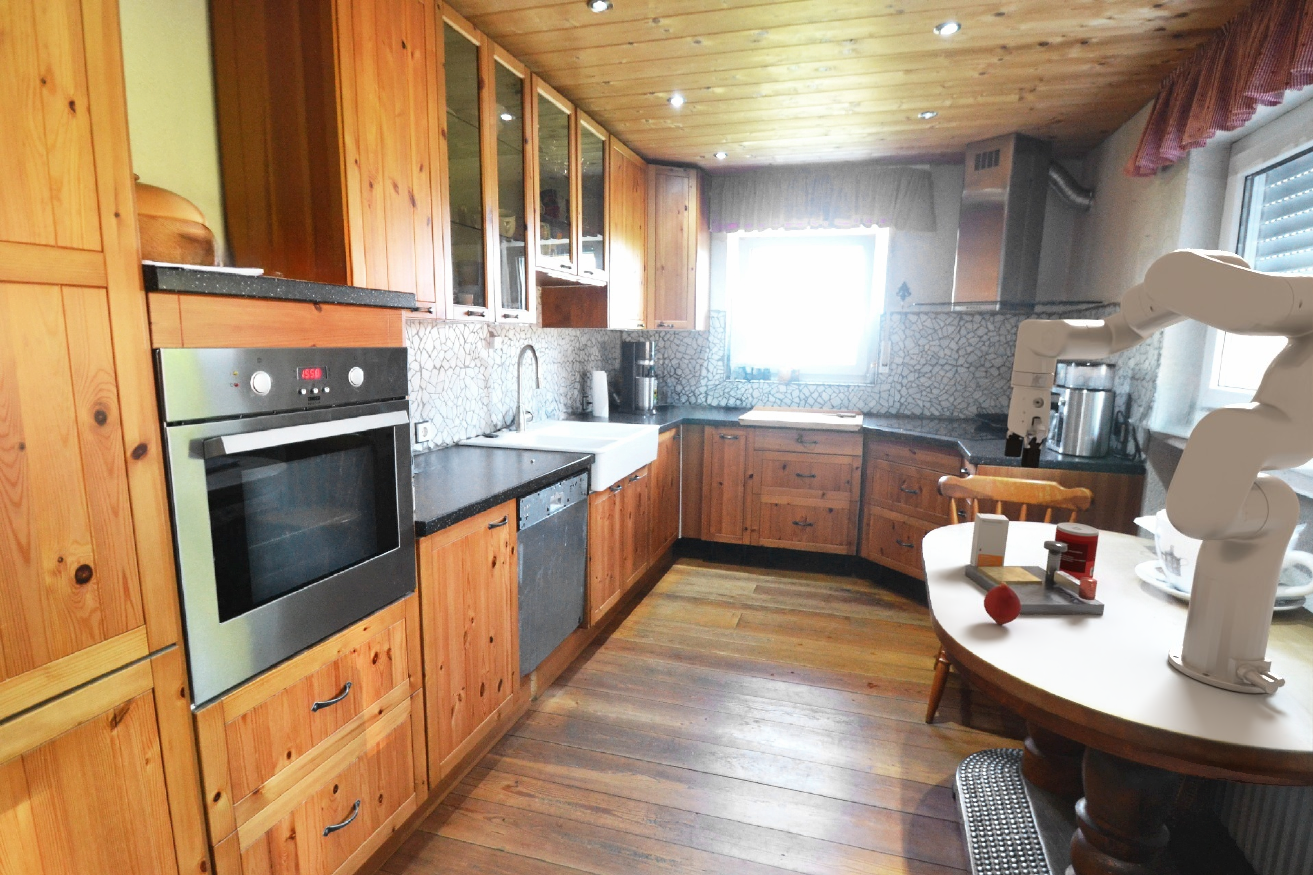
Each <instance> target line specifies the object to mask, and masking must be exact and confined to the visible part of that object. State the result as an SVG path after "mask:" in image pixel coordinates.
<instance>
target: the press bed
mask: <svg viewBox="0 0 1313 875" xmlns="http://www.w3.org/2000/svg"><path fill="white" fill-rule="evenodd" d="M1043 549H1045V550H1047V551H1048V553H1047V559H1046V569H1044V568H1042V567H1041V566H1038V565H1004V566H972V565H965V570H964V576H966V577H967V578H968V579H970V580H971V581H973V582H974V583H975V584H976V585H978V586H979V587H981V588H982V589H983V590H985V591H986V590H987V591H986V592H987V593H988V592H989V591H990V590H991V589H993V588H995V587H997V586H1000V582H1001V581H1003V582H1005V583H1006V584H1007V585H1008V586H1009V588H1011V589H1012V590H1013V591H1014V592H1015V593H1016V595H1017V596H1018V598H1019V600H1020V603H1021V612H1020V615H1019V616H1022V615H1023V616H1025V615H1027V616H1030V615H1032V616H1034V615H1035V614H1036V615H1037V614H1038V615H1039V614H1043V615H1042V616H1044V615H1047V616H1049V615H1051V616H1052V615H1054V616H1055V615H1058V616H1059V615H1062V616H1063V615H1064V616H1066V615H1070V616H1071V615H1073V616H1076V615H1077V616H1078V615H1083V616H1084V615H1104V612H1105V603H1104V602H1103V603H1102V602H1101V601H1099V600H1097V599H1096V598H1095V600H1085V599H1082V598H1080V597H1079V596H1078V595H1077V594H1076V593H1074V592H1072V591H1070V590H1069V589H1067V588H1065V587H1064V586H1062V585H1060V584H1059V583H1057V582H1055V581H1054V573H1055V571H1059V567H1060V559H1061V552H1066V551H1067V545H1066V544H1064V543H1061V542H1057V541H1055V540H1045V541H1044V543H1043ZM1038 615H1037V616H1038Z"/></svg>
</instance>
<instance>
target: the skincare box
mask: <svg viewBox="0 0 1313 875" xmlns="http://www.w3.org/2000/svg"><path fill="white" fill-rule="evenodd" d="M974 515H975V517H974V525H973V533H972V541H971V542H972V543H971V550H970V551H971V552H970V560H969V564H970V566H1005V557H1006V549H1007V541H1008V533H1009V526H1010V520H1009V518H1008V517H1006V516H1005V515H1004V514H993V513H975V514H974Z"/></svg>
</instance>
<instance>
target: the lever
mask: <svg viewBox="0 0 1313 875" xmlns="http://www.w3.org/2000/svg"><path fill="white" fill-rule="evenodd" d="M1054 581H1055V582H1057V583H1059V584H1060V585H1062V586H1064V587H1065V588H1067V589H1069V590H1070V591H1072V592H1074V593H1076V594H1077V595H1078V596H1079V597H1080V598H1082V599H1085V600H1095V599H1096V593H1097V586H1098V580H1097V579H1095V578H1088V577H1081V579H1080V580H1078V579H1076V578H1074V577H1072V576H1071V575H1069V574H1067V573H1065V572H1063V571H1055V573H1054Z"/></svg>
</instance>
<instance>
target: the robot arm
mask: <svg viewBox="0 0 1313 875" xmlns="http://www.w3.org/2000/svg"><path fill="white" fill-rule="evenodd" d="M1191 319H1192V320H1193V321H1195V322H1199V323H1202V324H1204V325H1206V326H1210V327H1211V328H1213V329H1217V330H1220V331H1223V332H1226V333H1230V334H1233V335H1239V336H1251V337H1253V336H1254V337H1255V336H1257V337H1258V336H1259V337H1263V336H1265V337H1266V336H1267V337H1285V338H1286V339H1287V343H1286V344H1285V346H1284V347H1283V349H1282V350H1281V351H1280V352H1279V353H1278V354H1277V355H1276V356H1275V357H1274V358H1273V360H1271V361H1270V363H1269V365H1268V367H1266V370H1265V371H1264V374H1263V376H1262V379H1261V381H1260V384H1259V386H1258V388H1257V390H1256V392H1255V394H1254V396H1253V398H1252V399H1251V400H1250V402H1249V403H1236V404H1229V405H1228V404H1227V405H1223V406H1220V407H1217V408H1215V409H1214V410H1211V411H1210V412H1208V413H1207V414H1205V415H1204V416H1203V417H1202V418H1201V419H1200V420H1199V421H1198V422H1197V423H1196V424H1195V427H1194V428H1193V429H1192V430H1191V433H1190V434H1189V437H1188V439H1187V442H1186V444H1185V446H1184V448H1183V452H1182V454H1181V456H1180V459H1179V460H1178V464H1177V466H1176V469H1175V471H1174V473H1173V476H1172V479H1171V480H1170V484H1169V486H1168V488H1167V492H1166V496H1165V503H1164V504H1165V506H1164V507H1165V513H1166V516H1167V519H1168V521H1169V522H1170V524H1171V525H1172V527H1173V528H1174V529H1175V530H1176V531H1177V532H1178V533H1180V534H1181V535H1184V536H1185V537H1187V538H1189V539H1194V540H1197V541H1198V540H1199V541H1202V542H1201V543H1200V546H1199V549H1198V552H1197V555H1196V560H1195V565H1194V571H1193V578H1192V584H1191V592H1190V596H1189V603H1188V610H1187V617H1186V622H1185V626H1184V627H1185V628H1184V636H1183V639H1182V640H1183V641H1182V645H1181V646H1176V647H1173V648H1171V649H1170V650H1168V656H1167V661H1168V662H1169V664H1171V666H1172V667H1173V668H1175V669H1176V670H1177V671H1179V672H1181V673H1182V674H1184V675H1186V676H1188V677H1189V678H1192V679H1194V680H1197V681H1199V682H1202V683H1204V684H1208V685H1210V686H1213V687H1216V688H1219V689H1220V688H1221V689H1224V690H1229V691H1234V692H1239V693H1245V694H1264V693H1268V694H1274V693H1276V692H1277V691H1278V689H1279V688H1282V687H1284V686H1285V684H1286V680H1285V679H1284V678H1282V677H1281V676H1279V675H1277V674H1274V673H1272V672H1271V667H1272V662H1273V661H1272V660H1271V659H1269V658H1267V657H1266V654H1267V653H1266V652H1267V648H1268V642H1269V636H1270V631H1271V630H1270V629H1271V625H1272V620H1273V614H1274V607H1275V603H1276V598H1277V593H1278V587H1279V583H1280V578H1281V571H1282V568H1283V563H1284V559H1285V556H1286V552H1287V550H1288V547H1289V545H1290V542H1291V539H1292V537H1293V535H1294V532H1295V530H1296V527H1297V525H1298V522H1299V520H1300V519H1299V518H1300V513H1301V506H1300V505H1301V504H1300V501H1299V498H1298V495H1297V493H1296V492H1295V490H1294V489H1293V488H1292V487H1291V486H1290V485H1289V484H1288V483H1287V482H1286V481H1284V480H1282V479H1280V478H1279V477H1277V476H1274V475H1272V474H1268V473H1265V472H1266V471H1281V470H1289V469H1295V468H1298V467H1300V466H1305V465H1306V464H1307V463H1308V462H1309V461H1311V460H1312V459H1313V274H1304V273H1303V274H1302V273H1280V272H1262V271H1257V270H1252V267H1251V266H1250V265H1249V263H1248V262H1247V261H1246V260H1245V259H1244V257H1243V258H1242V257H1241V256H1240V255H1237V254H1235V253H1232V252H1228V251H1223V250H1222V251H1221V250H1209V249H1208V250H1207V249H1193V248H1192V249H1190V248H1187V249H1186V248H1185V249H1183V248H1182V249H1177V250H1174V251H1170V252H1168V253H1166V254H1164V255H1162V256H1160V257H1159V258H1157V259H1156V260H1155V261H1153V263H1152V264H1151V265H1150V266H1149V268H1147V270H1146V273H1145V274H1144V278H1143V281H1142V282H1140V283H1137V284H1135V285H1134V286H1132V287H1131V286H1130V287H1129V288H1128V289H1127V290H1126V291H1125V292H1124V293H1123V294H1122V296H1121V300H1120V311H1119V312H1116V313H1114V314H1112V315H1110V316H1107V317H1104V318H1102V319H1098V320H1097V319H1066V318H1065V319H1063V318H1062V319H1030V318H1029V319H1025V320H1023V321H1021V322H1020V323H1019V325H1018V330H1017V336H1016V345H1015V351H1014V359H1013V368H1012V374H1011V381H1010V387H1012V388H1013V389H1012V394H1011V397H1010V398H1011V399H1010V404H1009V409H1008V414H1007V432H1006V440H1005V446H1004V456H1005V457H1007V458H1021V460H1020V467H1022V468H1028V469H1029V468H1030V469H1038V468H1039V465H1040V459H1041V452H1042V449H1043V443H1044V442H1045V438H1048V435H1049V428H1050V427H1049V426H1050V417H1051V407H1052V406H1051V404H1052V402H1051V401H1052V398H1051V397H1052V395H1051V394H1052V393H1051V390H1053V387H1054V380H1055V375H1056V374H1055V373H1056V369H1057V368H1056V367H1057V361H1058V360H1099V359H1104V358H1108V357H1111V356H1114V355H1118V354H1119V353H1122V352H1126V351H1128V350H1131V349H1134V348H1136V347H1138V346H1140V345H1142V344H1144V343H1145V342H1146V341H1147V340H1148V339H1150V338H1152V336H1153V335H1154V334H1155V333H1156V332H1158V331H1162V329H1166V328H1168V327H1171V326H1173V325H1177V324H1179V323H1182V322H1184V321H1187V320H1191ZM1023 445H1024V446H1025V447H1023Z"/></svg>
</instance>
